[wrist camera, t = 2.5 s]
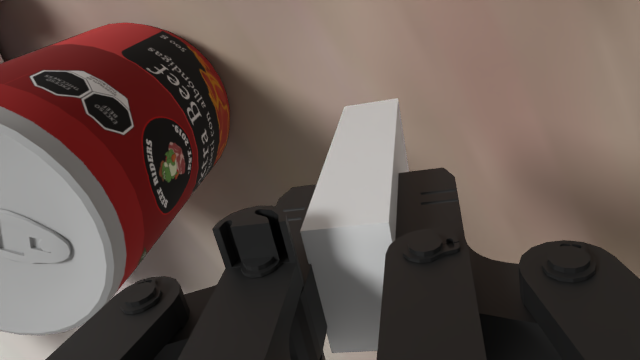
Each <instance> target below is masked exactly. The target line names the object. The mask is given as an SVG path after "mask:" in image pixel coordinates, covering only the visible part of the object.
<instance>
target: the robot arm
mask: <svg viewBox="0 0 640 360" xmlns="http://www.w3.org/2000/svg"><path fill="white" fill-rule="evenodd" d="M212 230H213V233H214V235H215V238H216V241H217V244H218V247H219V250H220V253H221V256H222V259H223V262H224V265H225V268H226V269H225V271H224V273H223V274H222V276H221V278H220V280H219V282H218V284H217V285H215V286H212V287H209V288H206V289H202V290H199V291H195V292H192V293H188V294H185V295H184V294H183V292H182V289H181V286H180V284H179V283H178V282H177V281H176V279H173V278H170V277H166V276H164V277H151V278H146V279H143V280H140V281H137V282H136V283H135V284H133V285H131V286H129V287H127V288H125V289H124V290H122V291H121V292H120V293H118V294H117V295H116V296H114V297H113V298H112V299H111V300H110V301H109V302H108V303H107V304H105V305H104V306H103V307H102V308H101V309H100V310H99V311H98V312H97V313H96V314H95V315H93V316H92V317H91V318H90V319H89V320H88V321H87V322H86V323H85V324H84V325H83V326H82V327H80V328H79V329H78V330H77V331H76V332H75V333H74V334H73V335H72V336H71V337H70V338H68V339H67V340H66V341H65V342H64V343H63V344H62V345H61V346H60V347H59V348H58V349H56V350H55V351H54V352H53V353H52V354H51V355H50V356H49V357H48V358H47V359H46V360H325V356H324V353H323V346H324V341H325V336H326V332H327V336H328V340H329V344H330V347H331V351H332V353H338V352H362V351H377V360H640V279H639V278H638V277H637V276H636V275H635V274H634V273H632V272H631V271H630V270H629V269H628V268H627V267H626V266H625V265H624V264H622V263H621V262H620V261H619V260H618V259H617V258H616V257H615V256H613V255H612V254H610V253H609V252H607V251H605V250H604V249H602V248H600V247H597V246H594V245H591V244H587V243H584V242H577V241H565V240H563V241H554V242H546V243H543V244H540V245H537V246H535V247H532V248H531V249H529V250H528V251H527V252H526V253H524V254H523V255H522V257H521V260H520V263H519V264H514V263H506V262H500V261H495V260H491V259H489V258H486V257H483V256H481V255H479V254H478V253H476V252H474V251H473V250H472V249H471V248H470V247H469V246H468V245H467V242H466V240H465V236H464V230H463V224H462V218H461V212H460V206H459V200H458V194H457V188H456V182H455V177H454V176H453V175H452V174H451V173H449V172H448V171H447V170H446V169H444V168H436V169H428V170H420V171H412V172H409V167H408V161H407V154H406V147H405V141H404V134H403V128H402V121H401V114H400V108H399V101H398V98H397V99H390V100H384V101H377V102H371V103H364V104H358V105H351V106H345V107H344V109H343V112H342V115H341V118H340V121H339V123H338V126H337V129H336V132H335V135H334V138H333V140H332V143H331V146H330V149H329V152H328V154H327V157H326V160H325V163H324V166H323V168H322V171H321V174H320V177H319V180H318V182H317V185H309V186H300V187H292V188H291V189H290V190H289V191H288V192H287V193H285V194H284V195H283V196H282V197H281V198H280V199H279V200H278V203H277V205H276V207H274V206H256V207H251V208H246V209H243V210H240V211H238V212H235V213H232V214H230V215H229V216H227V217H225V218H224V219H222V220H221V221H219V222H218V223H217V224H216V225H215V227H214V228H213V229H212Z"/></svg>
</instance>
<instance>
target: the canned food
mask: <svg viewBox="0 0 640 360" xmlns="http://www.w3.org/2000/svg"><path fill="white" fill-rule="evenodd" d="M229 126H230V108H229V103H228V98H227V94H226V91H225V89H224V86H223V84H222V82H221V79H220V77H219V76H218V74H217V73H216V71H215V70H214V68H213V66H212V65H211V63H210V62H209V61H208V60H207V59H206V58H205V57H204V56H203V55H202V54H201V53H200V52H199V51H198V50H197V49H196V48H195V47H193V46H192V45H191V44H189V43H188V42H187V41H185V40H184V39H182V38H180V37H178V36H176V35H174V34H172V33H171V32H169V31H165V30H162V29H159V28H156V27H153V26H148V25H142V24H134V23H116V24H108V25H105V26H102V27H99V28H96V29H93V30H90V31H87V32H85V33H82V34H79V35H76V36H74V37H71V38H68V39H66V40H63V41H60V42H57V43H55V44H52V45H49V46H47V47H44V48H41V49H38V50H36V51H33V52H30V53H28V54H25V55H22V56H19V57H17V58H14V59H11V60H9V61H6V62H3V63H1V64H0V331H3V332H8V333H14V334H19V335H49V334H56V333H62V332H65V331H68V330H71V329H73V328H76V327H79V326H81V325H82V324H84V323H85V322H87V321H88V320H89V319H90V318H91V317H92V316H93V315H95V314H96V313H97V312H98V311H99V310H100V309H101V308H102V307H103V306H104V305H105V304H107V303H108V302H109V301H110V299H111V298H112V297H113V296H114V294H115V293H116V292H117V291H118V289H119V288H120V287H121V286H122V284H123V283H124V282H125V281H126V280H127V278H128V277H129V276H130V275H131V274H132V272H133V271H134V270H135V269H136V267H137V266H138V265H139V263H140V262H141V261H142V259H143V258H144V257H145V255H146V254H147V253H148V252H149V250H150V249H151V248H152V246H153V245H154V244H155V242H156V241H157V240H158V238H159V237H160V236H161V234H162V233H163V232H164V230H165V229H166V228H167V227H168V225H169V224H170V223H171V221H172V220H173V219H174V217H175V216H176V215H177V213H178V212H179V211H180V209H181V208H182V207H183V205H184V204H185V203H186V202H187V200H188V199H189V198H190V196H191V195H192V194H193V192H194V191H195V190H196V188H197V187H198V186H199V184H200V183H201V182H202V180H203V179H204V178H205V176H206V175H207V174H208V173H209V171H210V170H211V169H212V167H213V166H214V165H215V163H216V162H217V161H218V159H219V158H220V157H221V154H222V152H223V150H224V148H225V146H226V143H227V138H228V134H229Z"/></svg>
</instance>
